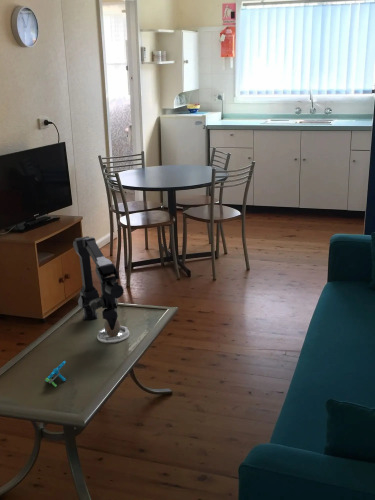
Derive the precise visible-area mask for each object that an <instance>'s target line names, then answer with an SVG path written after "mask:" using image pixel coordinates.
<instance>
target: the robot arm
mask: <svg viewBox="0 0 375 500" xmlns="http://www.w3.org/2000/svg"><path fill="white" fill-rule="evenodd" d="M72 242H73V243H72V247H73V249H74V251H75V253H76V254H77V255H78V257H79V264H80V274H81V281H82V282H81V283H82V285H81V288H80V290H79V295H80V296H79V298H78V300H77V303H78V304H77V305H78V306H79V307H80V308H81V309H83V316H82V317H83V318H82V320H83V321H86V320H95V319H98V312H97V310H98V309H100V308H101V309H103V310H102V313H101V314H102V320H105V321H106V320H107V321H108V323H109V326H110V329H111V330H114V327H115V323H116V320H117V319H118V318H119V315H118V307H119V306H118V303H119V302H118V299H119V298H121V297H122V296H123V295H124V291H125V289H124V288H123V286H122V285H121V284H119V281H117V280H120V274H119V272H118V270H117V267H116V266H115V264H114V263H113V262H112V261H111V259H109V258H106V257H105V255H104V253H103V252H102V251H101V249H100V248H99V245H98V244H97V242H96V239H95V237H94V236H88V235H87V236H82V237H77V238H75V239H74V240H73V241H72ZM91 259H92V261H93V262H94V265H95V274H96V276H97V278H98V280H99V281H100V283H99V284H100V291H101V294H99V291H98V289H96V287H95V286H94V282H93V281H94V280H93V274H92V273H93V272H92V271H93V270H92V263H91ZM100 295H101V296H100Z"/></svg>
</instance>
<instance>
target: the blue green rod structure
mask: <svg viewBox="0 0 375 500" xmlns="http://www.w3.org/2000/svg"><path fill="white" fill-rule="evenodd" d="M66 363H67V362H66V360H63V361H62V362H61V363H60V364H58V366H57V367H56V368H53V369H52V372H51V373H50V374H49V375H48V376H47V377H46V378H44V381H45V382H46V383H49V384H52V385H53V386H54V388H56V387H57V384H56V383H55V382H54V380H56V378H57V377H59V378H60V379H61V380H62V382H65V381H66V380H67V379H66V377H64V375H62V374H61V372H60V370H61V369H62V368H63V366H65V364H66Z"/></svg>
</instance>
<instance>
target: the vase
mask: <svg viewBox="0 0 375 500" xmlns="http://www.w3.org/2000/svg"><path fill="white" fill-rule="evenodd" d="M120 325H121V323H120V320H119V319H118V318H117V320H116V323H115V327H114V330H111V329H110V326H109V323H108V321H107V320H106V319H105V322H104V327H103V328H105V331H106V333H107V334H108V335H110V336H114V335H117V334H118V333H119V331H120V328H121V326H122V325H121V326H120Z"/></svg>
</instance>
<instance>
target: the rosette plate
mask: <svg viewBox="0 0 375 500" xmlns="http://www.w3.org/2000/svg"><path fill="white" fill-rule="evenodd" d="M120 326H121V328H120V331H119V333H118V334H117V335H114V336H110V335H108V334H107V333H106V331H105V328H104V327H103V328H101V329H99V330H98V333H97V334H96V335H97V336H96V337H97V341H98V342H100V343H104V344H114V343H119V342H122V341H125V340H126V339H128V338H129V337H130V334H131V333H130V330H129V329H128V326H124V325H121V324H120Z"/></svg>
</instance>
